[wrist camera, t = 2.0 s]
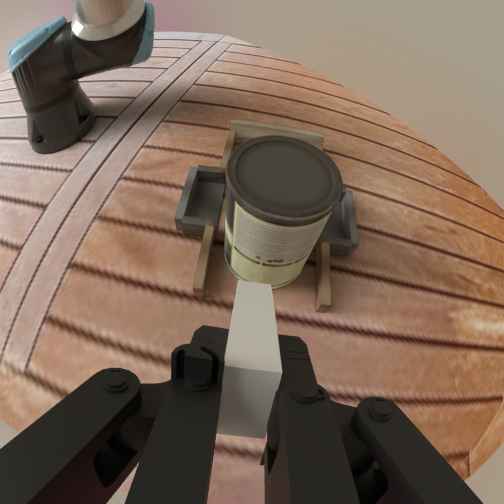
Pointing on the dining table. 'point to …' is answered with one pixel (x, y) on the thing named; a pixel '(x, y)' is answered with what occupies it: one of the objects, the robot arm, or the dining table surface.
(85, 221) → the dining table surface
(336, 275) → the dining table surface
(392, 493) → the robot arm
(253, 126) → the box
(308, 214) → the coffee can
